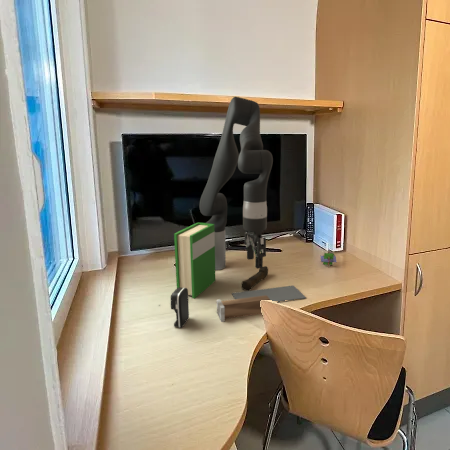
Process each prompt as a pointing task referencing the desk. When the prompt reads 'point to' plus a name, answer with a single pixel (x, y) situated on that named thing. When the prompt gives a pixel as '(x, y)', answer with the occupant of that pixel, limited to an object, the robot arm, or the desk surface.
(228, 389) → the desk surface
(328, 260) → the geometric puzzle
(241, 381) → the desk surface
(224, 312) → the stick
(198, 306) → the desk surface
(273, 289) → the mat
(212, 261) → the hardback book
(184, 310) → the battery charger
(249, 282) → the dark brown bar
